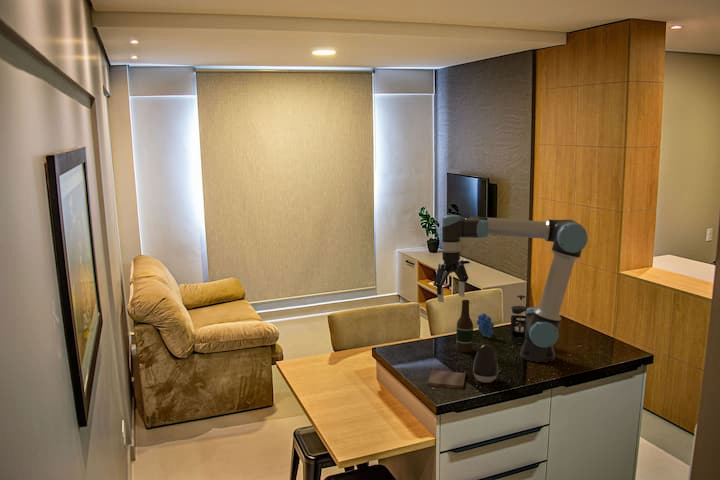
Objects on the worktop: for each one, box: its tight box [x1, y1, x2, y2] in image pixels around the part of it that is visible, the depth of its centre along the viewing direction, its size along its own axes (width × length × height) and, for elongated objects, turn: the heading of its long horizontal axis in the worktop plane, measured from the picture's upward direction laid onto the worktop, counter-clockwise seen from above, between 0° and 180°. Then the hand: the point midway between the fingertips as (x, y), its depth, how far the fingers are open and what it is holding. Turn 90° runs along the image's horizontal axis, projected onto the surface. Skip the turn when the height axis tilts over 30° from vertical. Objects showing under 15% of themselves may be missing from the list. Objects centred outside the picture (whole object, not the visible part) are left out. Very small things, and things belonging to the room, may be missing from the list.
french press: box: [509, 294, 529, 343], centre depth 296 cm, size 12×9×23 cm
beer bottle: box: [455, 299, 474, 353], centre depth 283 cm, size 8×8×24 cm
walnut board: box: [427, 369, 467, 390], centre depth 247 cm, size 14×14×1 cm
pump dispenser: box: [472, 343, 499, 384], centre depth 246 cm, size 10×10×15 cm
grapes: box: [476, 312, 495, 339], centre depth 303 cm, size 12×7×12 cm, turn 32°
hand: (451, 299), depth 264 cm, fingers open, 13 cm apart
